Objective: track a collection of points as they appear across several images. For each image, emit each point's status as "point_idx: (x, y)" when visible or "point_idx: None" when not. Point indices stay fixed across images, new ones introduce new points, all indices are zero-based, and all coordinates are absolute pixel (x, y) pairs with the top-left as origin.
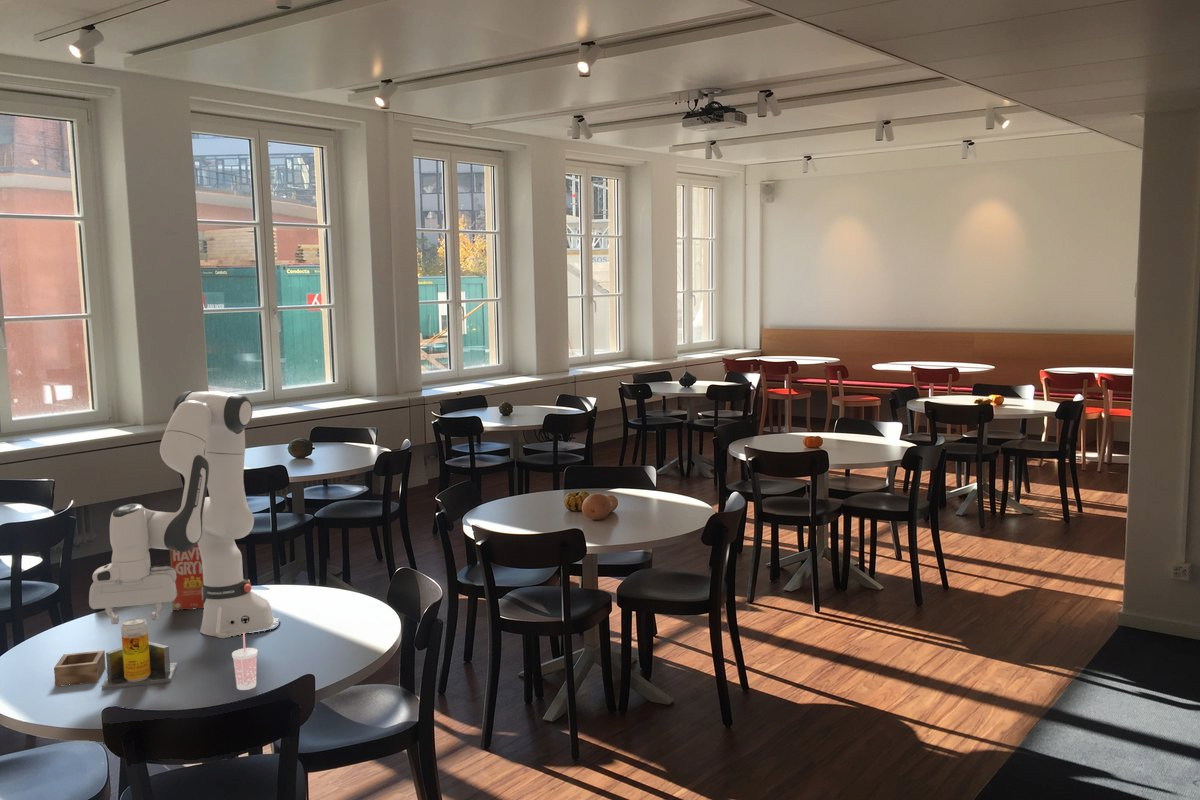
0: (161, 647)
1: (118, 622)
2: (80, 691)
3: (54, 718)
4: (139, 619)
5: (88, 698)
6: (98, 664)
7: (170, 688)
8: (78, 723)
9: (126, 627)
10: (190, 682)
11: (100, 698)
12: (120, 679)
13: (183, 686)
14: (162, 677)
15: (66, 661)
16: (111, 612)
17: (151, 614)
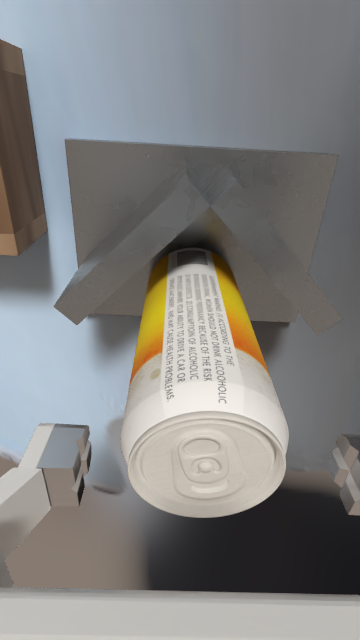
0: (308, 323)
1: (88, 437)
2: (18, 297)
3: (26, 439)
4: (242, 430)
5: (66, 357)
6: (18, 213)
7: (286, 361)
8: (92, 472)
9: (163, 496)
10: (345, 338)
11: (101, 367)
12: (133, 277)
13: (321, 359)
14: (271, 308)
15: None
16: (5, 530)
17: (347, 512)
